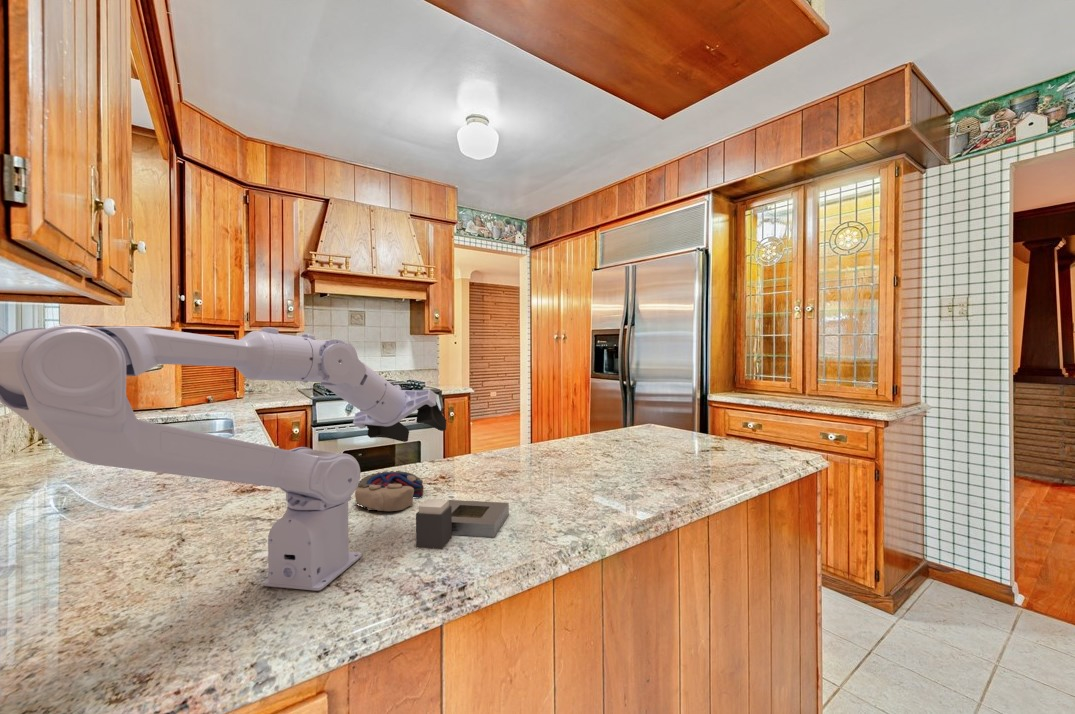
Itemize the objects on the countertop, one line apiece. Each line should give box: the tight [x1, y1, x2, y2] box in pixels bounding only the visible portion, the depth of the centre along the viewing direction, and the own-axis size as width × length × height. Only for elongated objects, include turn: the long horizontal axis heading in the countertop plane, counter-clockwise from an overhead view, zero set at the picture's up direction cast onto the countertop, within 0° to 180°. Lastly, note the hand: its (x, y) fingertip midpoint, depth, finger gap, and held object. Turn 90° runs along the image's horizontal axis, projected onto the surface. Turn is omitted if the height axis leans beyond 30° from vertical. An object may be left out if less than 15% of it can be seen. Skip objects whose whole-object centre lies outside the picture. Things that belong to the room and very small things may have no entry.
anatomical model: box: [354, 470, 425, 512], centre depth 86 cm, size 12×16×5 cm
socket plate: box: [448, 499, 510, 538], centre depth 74 cm, size 10×11×3 cm
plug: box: [415, 498, 453, 550], centre depth 67 cm, size 4×4×6 cm
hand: (425, 430), depth 76 cm, fingers open, 7 cm apart
